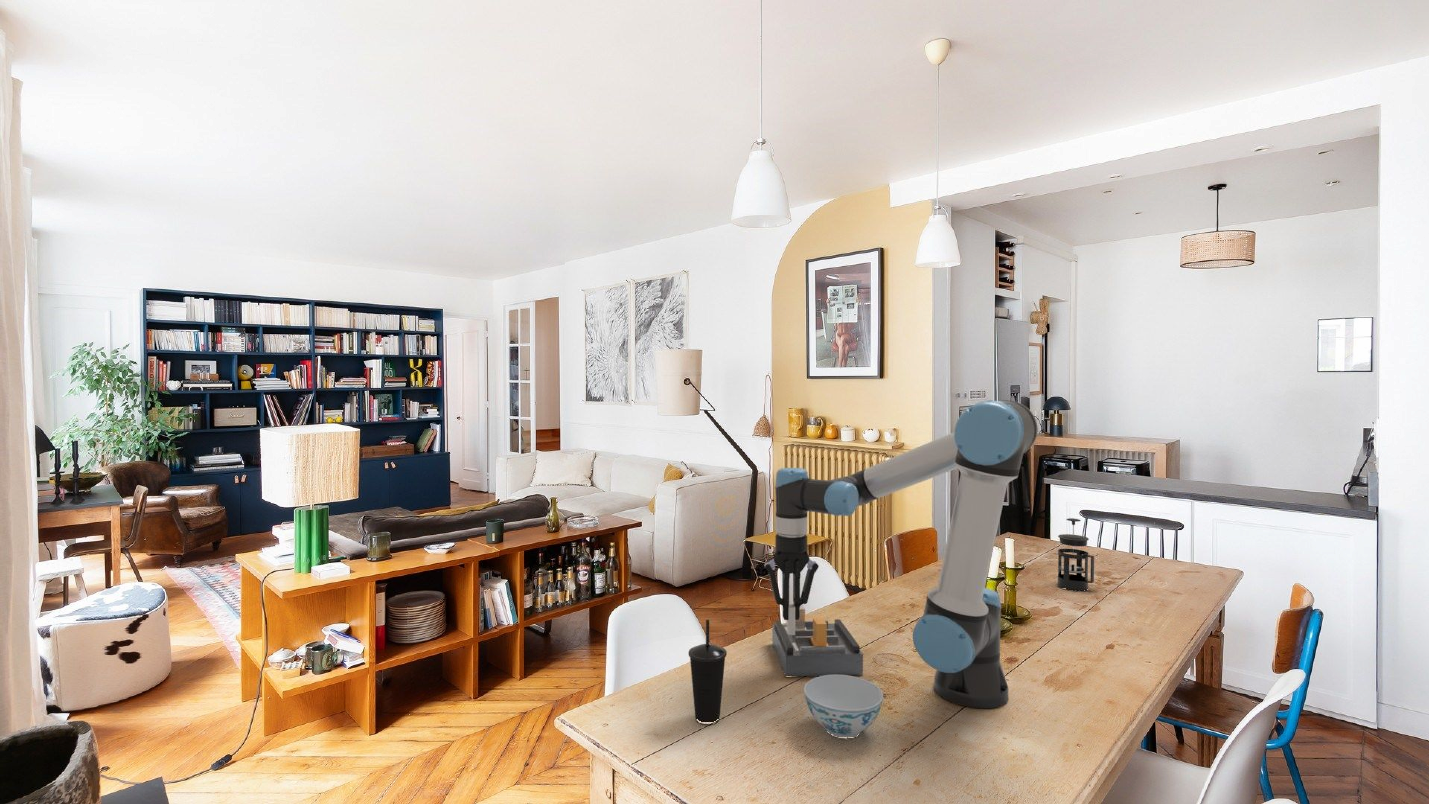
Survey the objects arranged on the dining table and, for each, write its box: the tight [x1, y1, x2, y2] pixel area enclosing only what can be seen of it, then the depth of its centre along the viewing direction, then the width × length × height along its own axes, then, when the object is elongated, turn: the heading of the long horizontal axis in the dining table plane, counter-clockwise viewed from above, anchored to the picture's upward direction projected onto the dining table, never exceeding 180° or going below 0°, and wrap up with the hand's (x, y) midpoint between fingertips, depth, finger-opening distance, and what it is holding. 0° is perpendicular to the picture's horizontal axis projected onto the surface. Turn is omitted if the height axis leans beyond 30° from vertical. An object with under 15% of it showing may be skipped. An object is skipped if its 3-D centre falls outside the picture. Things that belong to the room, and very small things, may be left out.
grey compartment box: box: [771, 604, 864, 676], centre depth 163 cm, size 20×18×11 cm
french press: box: [1056, 517, 1095, 592], centre depth 221 cm, size 12×9×23 cm
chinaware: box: [803, 675, 884, 738], centre depth 129 cm, size 15×15×8 cm
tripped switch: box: [811, 617, 829, 646], centre depth 158 cm, size 5×3×6 cm
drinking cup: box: [688, 619, 728, 722], centre depth 133 cm, size 8×8×20 cm
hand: (790, 632), depth 157 cm, fingers closed
